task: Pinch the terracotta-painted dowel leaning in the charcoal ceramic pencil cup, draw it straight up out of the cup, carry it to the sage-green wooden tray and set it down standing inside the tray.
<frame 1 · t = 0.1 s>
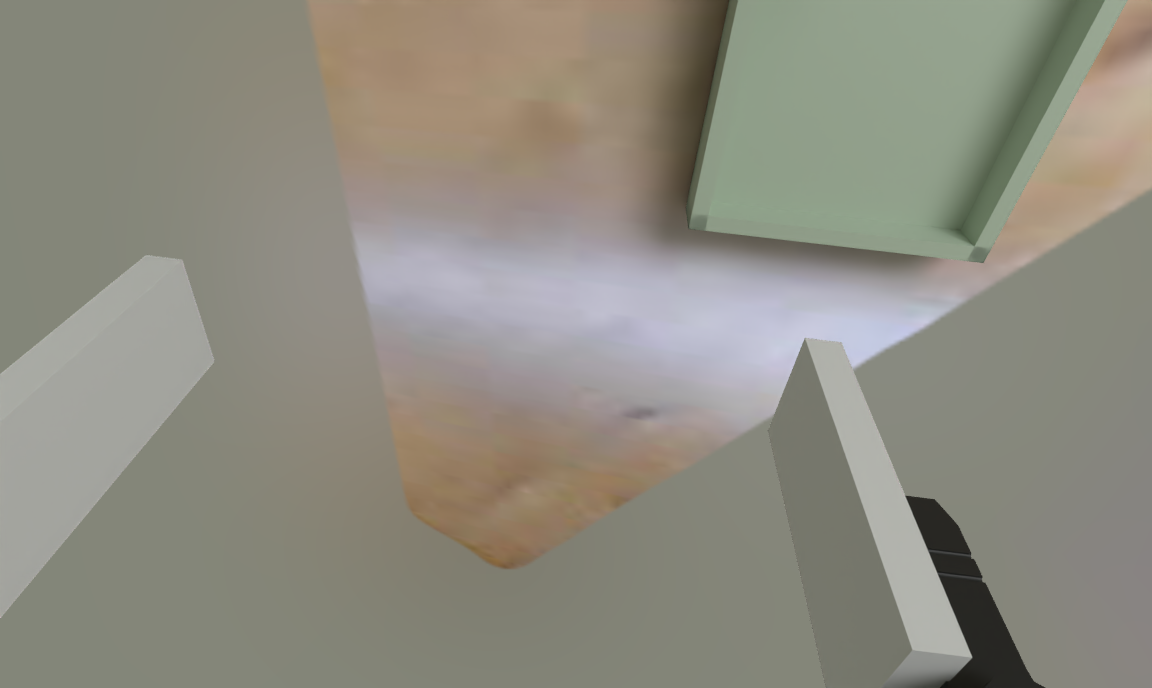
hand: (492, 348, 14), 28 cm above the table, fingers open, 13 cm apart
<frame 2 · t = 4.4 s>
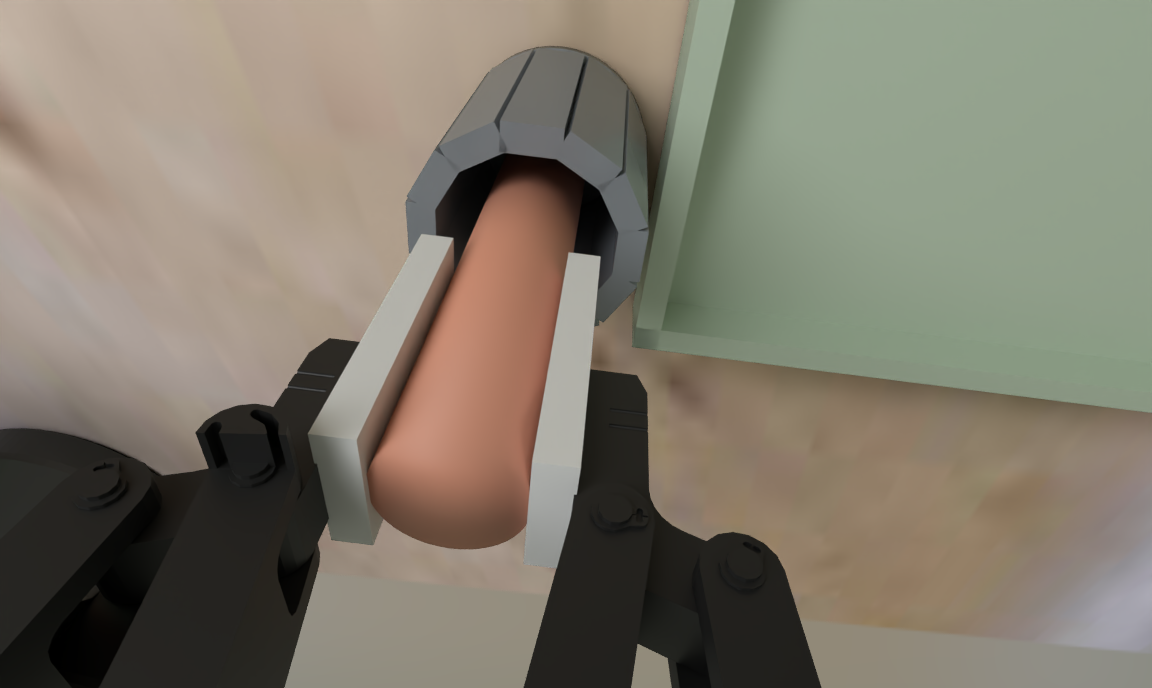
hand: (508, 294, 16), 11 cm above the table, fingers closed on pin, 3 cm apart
pin: (573, 151, 24), point 1 cm above the table, tilted 12°, touching gripper
cup: (555, 140, 24), on the table
tray: (1034, 145, 23), on the table
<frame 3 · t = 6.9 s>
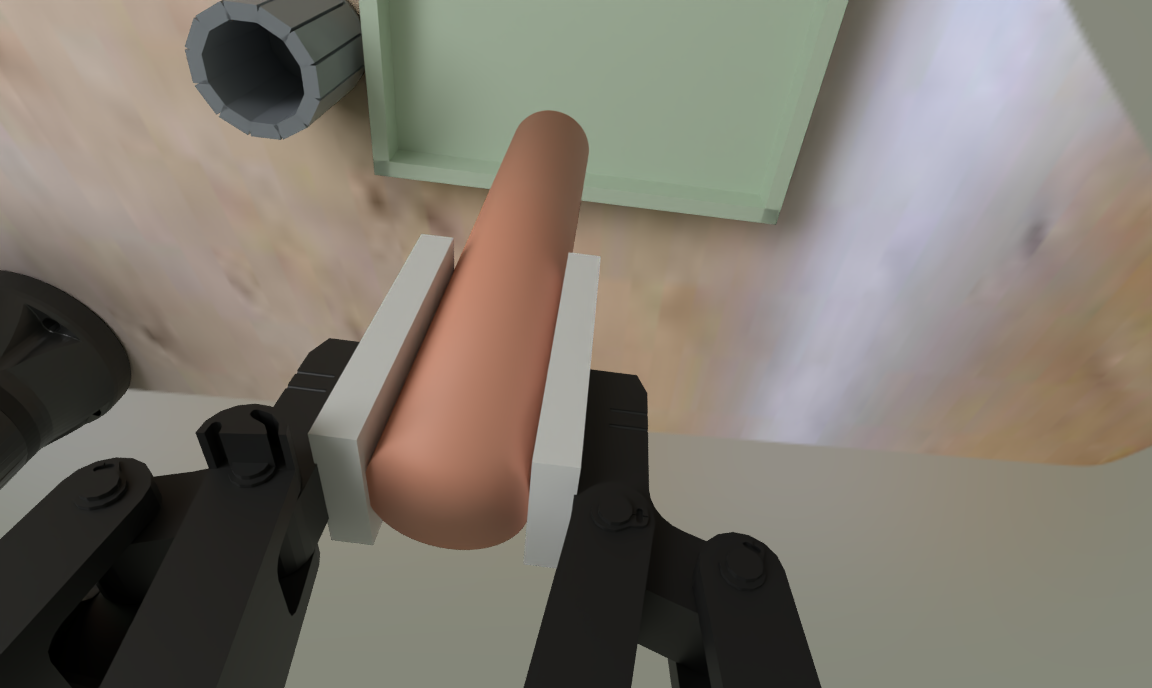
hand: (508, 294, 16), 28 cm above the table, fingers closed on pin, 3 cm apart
pin: (572, 150, 23), point 18 cm above the table, tilted 13°, touching gripper
cup: (314, 39, 39), on the table
tray: (594, 39, 38), on the table
when the fingers open (12 cm above the table, at t = 10.0 s): pin drops 2 cm, resting on tray.
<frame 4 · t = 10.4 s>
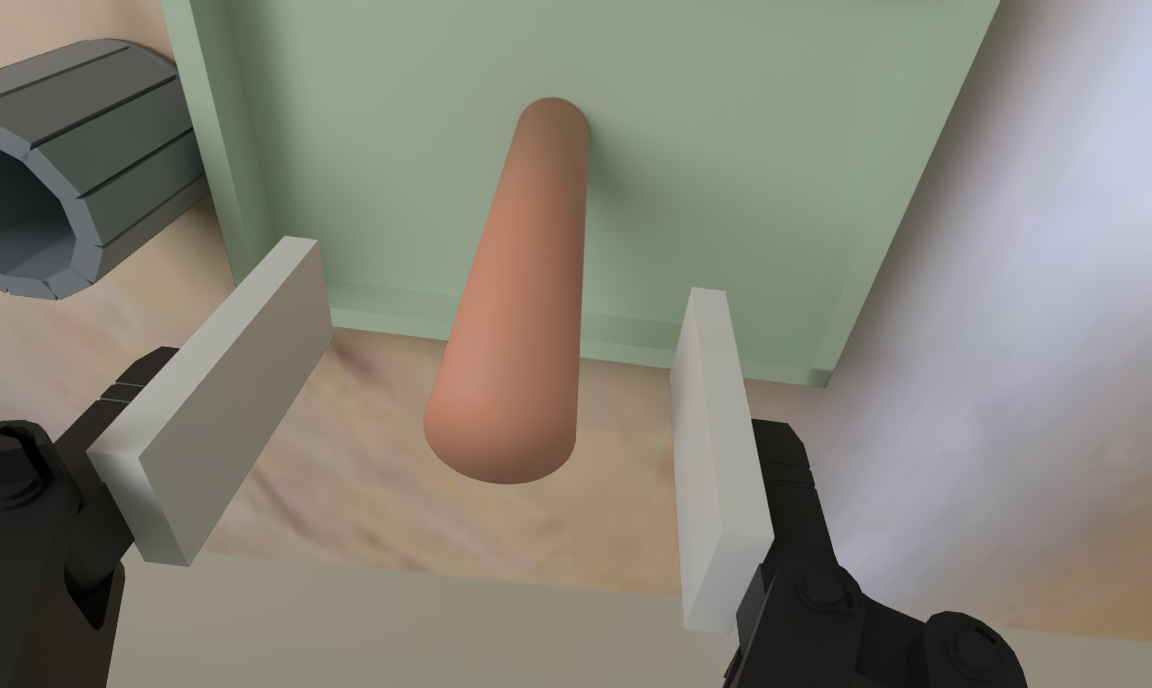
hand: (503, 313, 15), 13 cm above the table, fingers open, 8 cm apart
pin: (573, 136, 25), point 1 cm above the table, tilted 9°, touching tray
cup: (144, 124, 26), on the table
tray: (557, 128, 25), on the table
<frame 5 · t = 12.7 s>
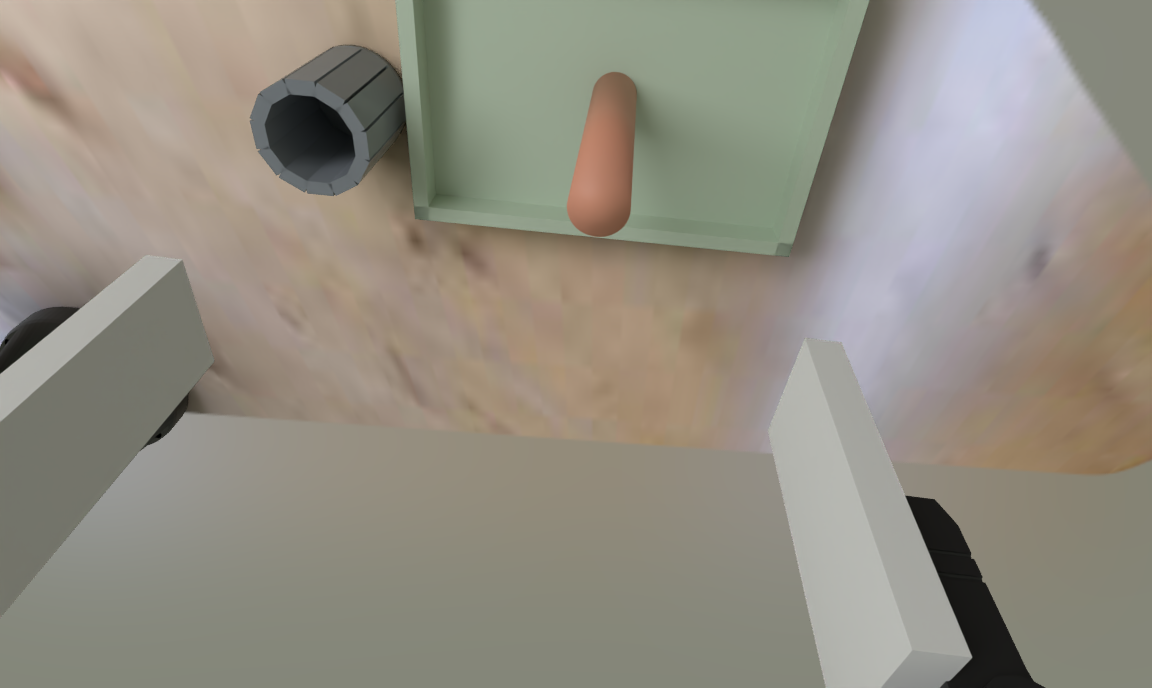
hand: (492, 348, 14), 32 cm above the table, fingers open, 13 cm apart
pin: (627, 95, 41), point 1 cm above the table, tilted 13°, touching tray
cup: (359, 97, 43), on the table
tray: (616, 91, 41), on the table
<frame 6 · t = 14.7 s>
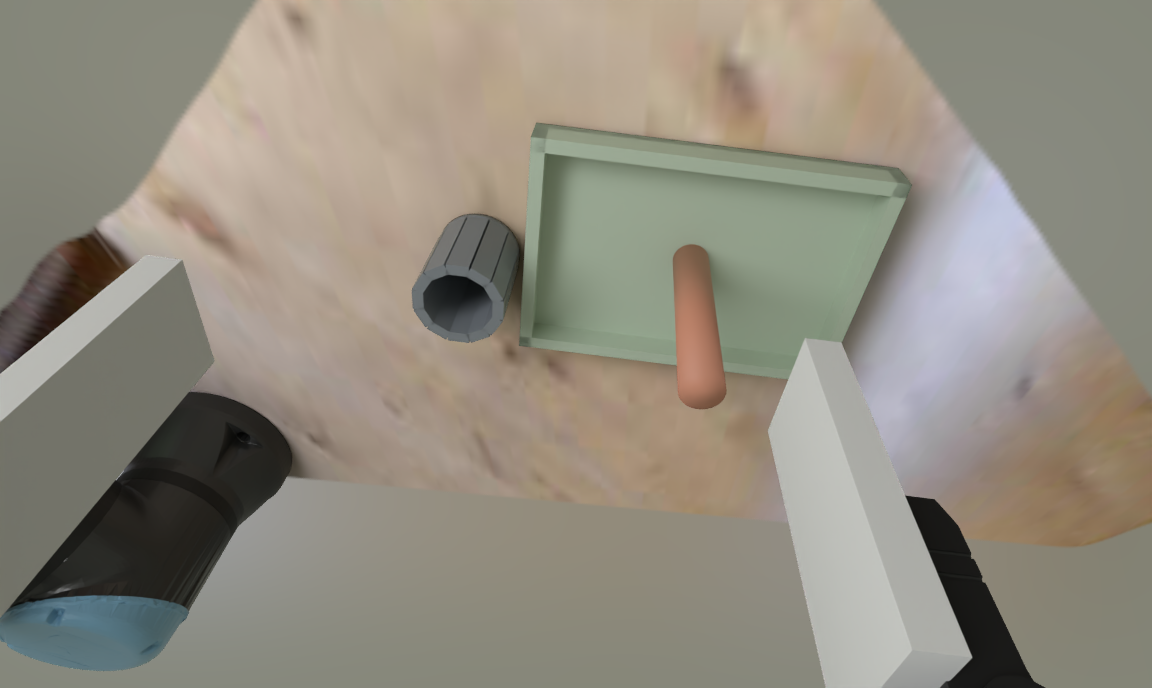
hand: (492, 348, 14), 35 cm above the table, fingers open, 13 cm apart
pin: (700, 260, 51), point 1 cm above the table, tilted 14°, touching tray
cup: (479, 250, 52), on the table
tray: (691, 255, 51), on the table
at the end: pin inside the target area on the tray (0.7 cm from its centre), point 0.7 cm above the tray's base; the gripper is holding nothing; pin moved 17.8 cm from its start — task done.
